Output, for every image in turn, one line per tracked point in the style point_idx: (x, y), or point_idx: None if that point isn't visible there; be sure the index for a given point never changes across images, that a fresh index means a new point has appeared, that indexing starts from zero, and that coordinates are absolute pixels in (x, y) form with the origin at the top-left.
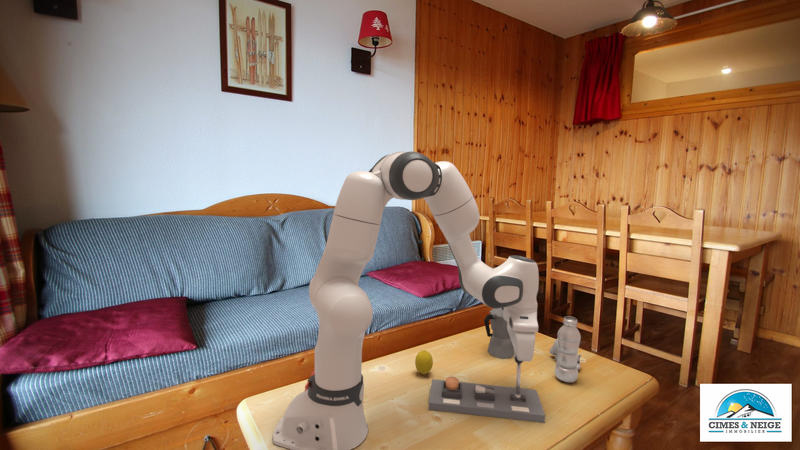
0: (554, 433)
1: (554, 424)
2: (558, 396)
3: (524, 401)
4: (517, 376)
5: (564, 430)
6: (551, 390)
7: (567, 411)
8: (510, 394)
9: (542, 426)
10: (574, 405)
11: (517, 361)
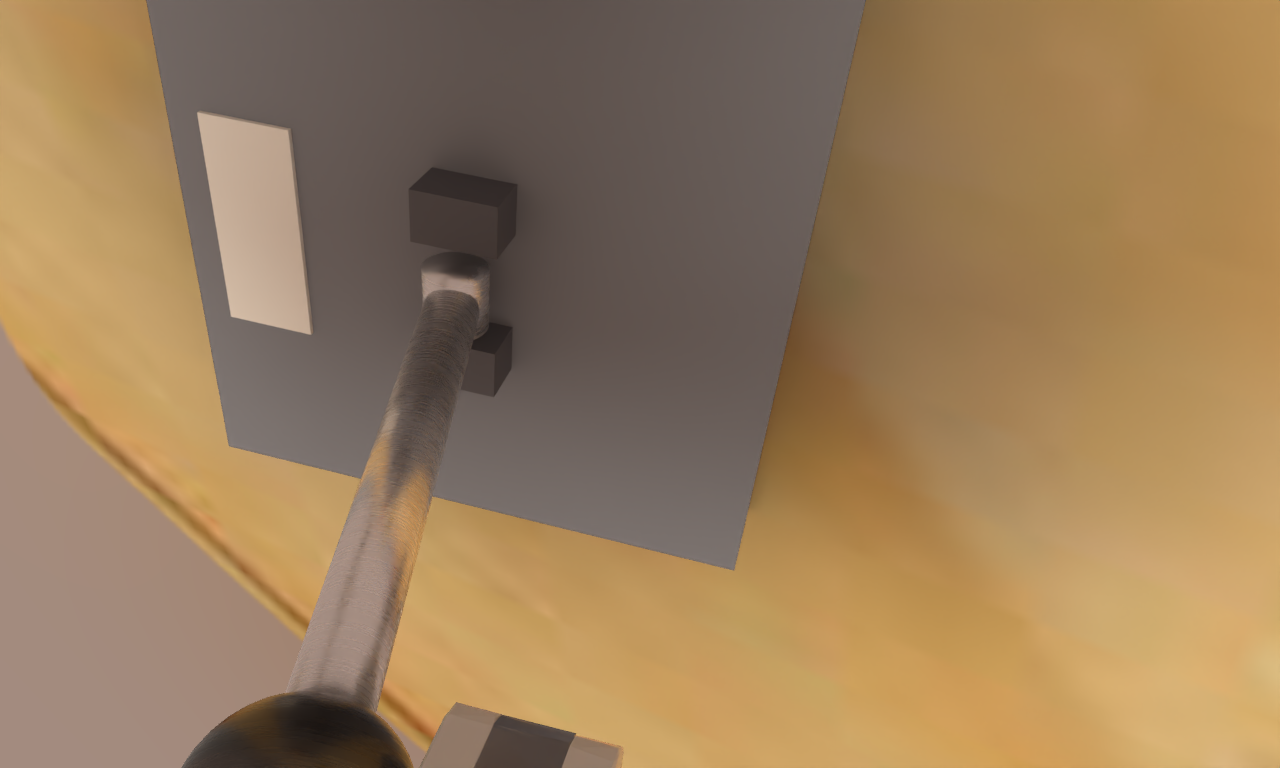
0: (150, 411)
1: (279, 466)
2: (747, 694)
3: None
4: (365, 480)
5: (222, 503)
6: (864, 691)
7: (504, 645)
8: (480, 207)
9: None
10: (605, 731)
11: (205, 741)
